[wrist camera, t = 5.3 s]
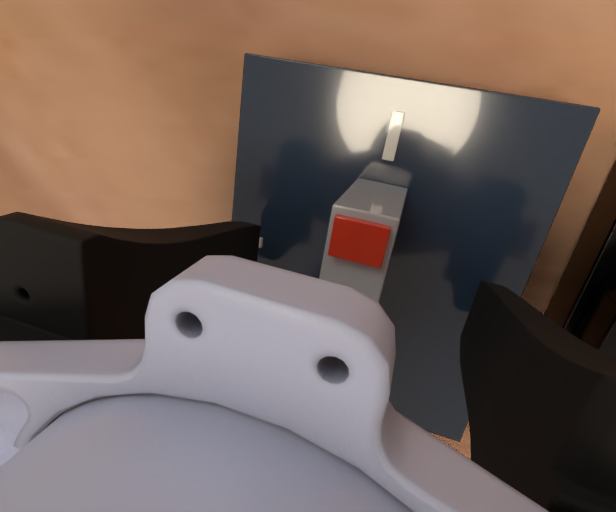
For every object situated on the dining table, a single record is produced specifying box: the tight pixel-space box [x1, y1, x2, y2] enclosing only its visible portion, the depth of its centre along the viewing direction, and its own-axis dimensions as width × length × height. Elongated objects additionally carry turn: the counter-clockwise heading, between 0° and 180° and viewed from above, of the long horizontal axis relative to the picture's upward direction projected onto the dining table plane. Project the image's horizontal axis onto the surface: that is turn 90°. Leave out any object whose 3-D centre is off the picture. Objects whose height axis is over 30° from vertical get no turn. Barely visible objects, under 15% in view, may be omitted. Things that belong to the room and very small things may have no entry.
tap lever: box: [319, 178, 408, 302], centre depth 12 cm, size 6×2×4 cm, turn 171°
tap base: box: [232, 53, 600, 442], centre depth 15 cm, size 12×10×3 cm
